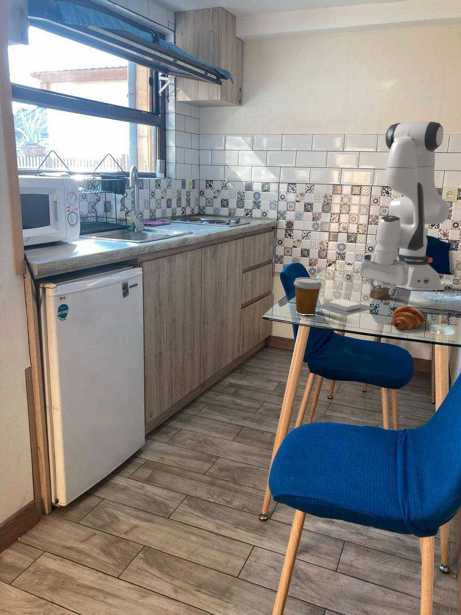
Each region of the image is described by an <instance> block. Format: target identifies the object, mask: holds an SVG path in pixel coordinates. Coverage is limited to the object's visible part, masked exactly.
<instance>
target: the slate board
mask: <svg viewBox="0 0 461 615" xmlns="http://www.w3.org/2000/svg"><path fill="white" fill-rule="evenodd" d="M316 308H318V309H322V310H326V311H329V312H331V313H336V314H338V315H342V316H345V317H346V316H351V315H354V314H359V313H362V312H366V311H370V310H374V309H376V307H373V306H369V305H367V304H363V303H360V308H358V309H354V310H349V311H344V310H341V309H337V308H334V307H330V306H329V302H328V303H323V304H317V305H316Z"/></svg>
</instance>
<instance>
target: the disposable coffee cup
mask: <svg viewBox="0 0 461 615" xmlns="http://www.w3.org/2000/svg"><path fill="white" fill-rule="evenodd" d="M293 285H294V289H295V291H294V292H295V311H297V312H298V313H301V314H314V313H316V310H317V309H316V308H317V307H316V306H317V305H318V299H319V295H320V289H321V288H322V285H323V284H322V281H321V280H320V279H318V278H314V277H308V276H307V277H305V276H304V277H303V276H302V277H297V278H295V280H294V282H293ZM314 315H315V314H314Z"/></svg>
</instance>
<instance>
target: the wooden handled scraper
mask: <svg viewBox="0 0 461 615" xmlns="http://www.w3.org/2000/svg"><path fill="white" fill-rule="evenodd" d="M390 288H391V287H386V286H384V287H379V288H376V289H373V290H370V292H369V298H370V299H374V300H380V299H384V300H387V299H388V300H389V299H391V297H392V296H391V295H388V294H387V290H390Z"/></svg>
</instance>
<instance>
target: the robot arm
mask: <svg viewBox="0 0 461 615" xmlns="http://www.w3.org/2000/svg"><path fill="white" fill-rule="evenodd" d="M443 139H444V128H443V125H442V124H441V123H439V122H436V121H410V122H401V123H400V122H397V123H394V124H391V125H390V126H389V127H388V128H387V130H386V132H385V146H386V147H387V149H389V153H388V156H387V162H386V169H385V182H386V185H387V186H388V187H389V188H390V189H391V190H393V191H395V192H396V193H398V194H401V195H402V196H398V197H394V198H393V199H392V200H391V201H390V203H389V205H388V214H389V215H383V216H382V217H380V218H379V221H378V226H377V228H376V231H375V236H374V237H375V241H376V242H375V243H376V245H375V247H374V251H373V252H370V253H365V254H363V255H362V257H361V258H362V261H361V262H360V266H359V273H358V274H359V276H360V278H363V279H368V284H369V286H370V288H369V290H370V291H371V290H373V289H377V286H376V285H375V284H374V283H375V281H376V282H382V283H385V284H390V285H389V286H390V287H389V288H390V290H387V294H388V295H393V293H394V290H395V289H396V288H397V287H398V288H401V289H405V290H409V291H431V292H432V291H433V290H435V291H436V292H438V291H437V290H444V291H445V286H444V285H443V284H441V277H440V274H439V273H438V272H437V271H436V270H435V269H434V268H433V267H432V266H431V265H430V264H429V263H433V258H432V257H429V256H428V255H426V253H427V252H426V251H427V246H428V237H427V231H426V226H425V225H441V224H443V223H445V221H446V220H447V219H448V217H449V215H450V205H449V204H448V202H447V201H446V200H445V199H443V197H442V196H441V195H440V194H439V192H438V190H437V187H436V183H435V163H436V153H435V152H436V151H435V150H437V149H438V148H439V147H440V146H441V145H442V142H443ZM435 291H434V292H435Z"/></svg>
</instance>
